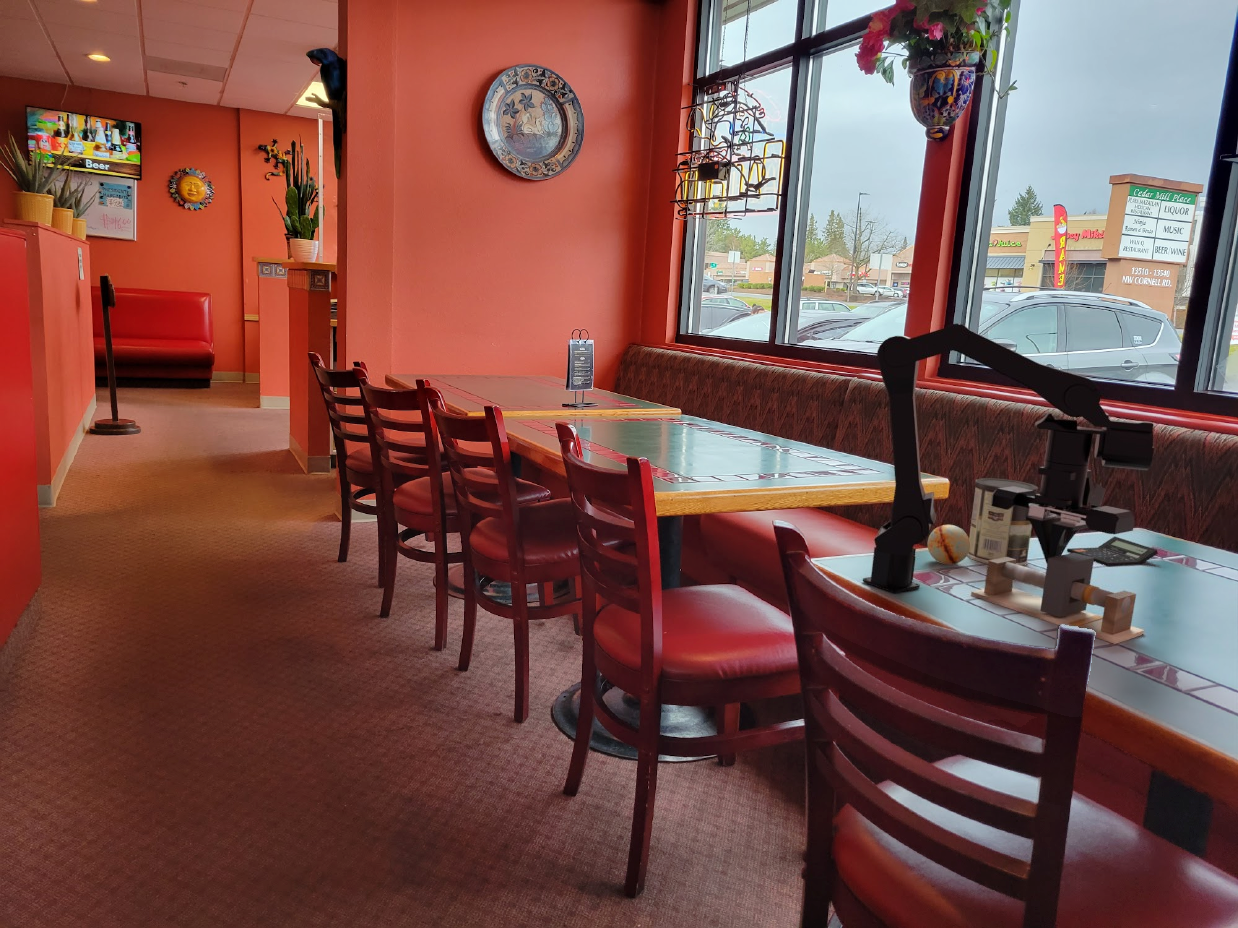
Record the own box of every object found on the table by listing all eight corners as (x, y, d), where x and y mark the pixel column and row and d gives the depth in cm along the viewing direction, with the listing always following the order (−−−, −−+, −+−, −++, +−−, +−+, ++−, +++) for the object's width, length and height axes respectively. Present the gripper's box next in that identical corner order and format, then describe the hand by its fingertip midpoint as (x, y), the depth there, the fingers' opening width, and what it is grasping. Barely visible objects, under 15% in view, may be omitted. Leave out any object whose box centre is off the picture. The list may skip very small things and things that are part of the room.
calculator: (1066, 552, 165) (1068, 537, 165) (1113, 550, 169) (1116, 536, 168) (1107, 567, 156) (1109, 551, 156) (1155, 565, 160) (1158, 549, 159)
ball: (973, 564, 152) (978, 526, 151) (959, 572, 147) (964, 532, 146) (933, 555, 157) (938, 518, 155) (919, 562, 151) (923, 524, 150)
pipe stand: (1143, 634, 121) (1150, 594, 120) (1115, 643, 117) (1121, 602, 116) (1000, 588, 139) (1005, 553, 138) (970, 595, 135) (975, 559, 134)
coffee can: (1019, 554, 161) (1029, 480, 158) (1033, 569, 151) (1045, 491, 148) (961, 548, 163) (970, 475, 160) (971, 563, 153) (982, 486, 150)
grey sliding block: (1085, 609, 127) (1094, 557, 126) (1060, 617, 123) (1068, 563, 122) (1066, 603, 130) (1073, 552, 128) (1040, 610, 126) (1048, 558, 124)
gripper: (1161, 470, 122) (1143, 575, 125) (1035, 449, 137) (1022, 543, 140) (1122, 475, 116) (1104, 586, 118) (995, 452, 131) (982, 551, 134)
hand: (1051, 565), depth 128 cm, fingers closed
